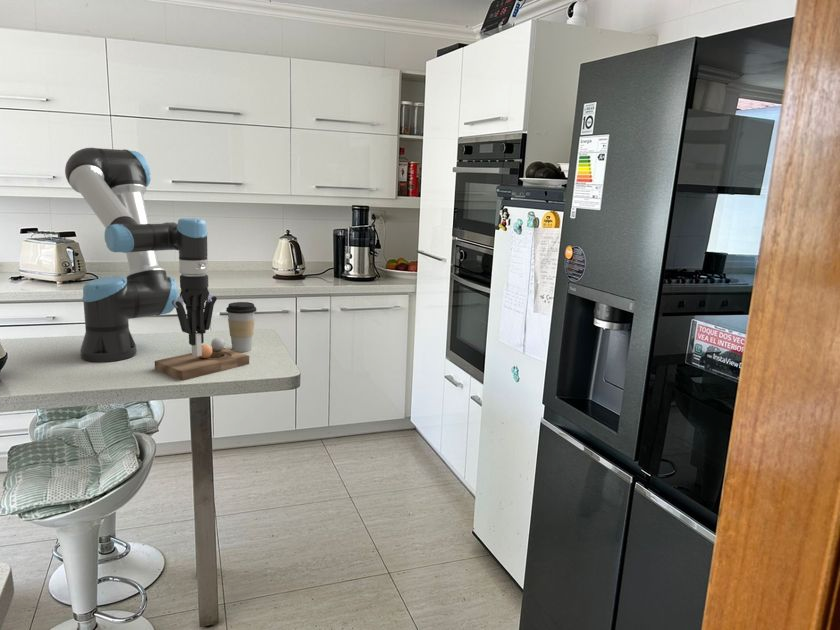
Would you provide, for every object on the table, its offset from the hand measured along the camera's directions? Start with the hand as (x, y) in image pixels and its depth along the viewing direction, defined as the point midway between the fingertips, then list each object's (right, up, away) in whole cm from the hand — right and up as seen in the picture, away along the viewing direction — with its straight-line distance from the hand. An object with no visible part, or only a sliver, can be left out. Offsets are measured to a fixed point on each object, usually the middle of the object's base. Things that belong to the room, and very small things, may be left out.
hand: (196, 355), depth 177 cm
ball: (+2, +1, +2) cm, 3 cm away
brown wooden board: (+1, -4, +3) cm, 4 cm away
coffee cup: (+7, 0, +22) cm, 23 cm away
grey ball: (+3, +3, +10) cm, 11 cm away
